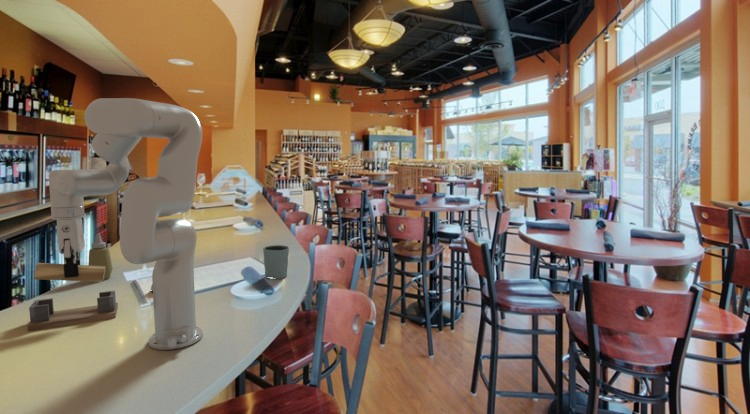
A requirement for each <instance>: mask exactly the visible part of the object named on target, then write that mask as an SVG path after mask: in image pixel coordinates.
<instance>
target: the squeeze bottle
mask: <svg viewBox="0 0 750 414" xmlns="http://www.w3.org/2000/svg"><path fill="white" fill-rule="evenodd" d="M106 245H107V242H106V241H105V242H104V241H103V239H102V237H101V233H96V234H95V239H94V242H93V243H91V249H90V248H89V250H88V264H87V265H90V266H106V267H105V274H104V280H103V281H105V280H108V279H110V278H111V276H112V275H111V274H112V272H113V269H114V268H113V264H112V260H111V252H110V248H108V247H107V246H106Z"/></svg>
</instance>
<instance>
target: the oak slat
mask: <svg viewBox="0 0 750 414" xmlns="http://www.w3.org/2000/svg"><path fill="white" fill-rule="evenodd" d="M105 267H106V266H90V265H88V264H87V265H86V264H85V265H84V264H80V265H78V273H79V275H78V277H70V278H65V277H64V263H50V262H49V263H47V262H38V263H36V264H35V269H34V275H33V280H39V281H40V280H41V281H42V280H45V281H68V282H69V281H71V282H72V281H74V282H94V283H95V282H96V283H97V282H99V283H102V282H103V281H105V280H104V274H105Z"/></svg>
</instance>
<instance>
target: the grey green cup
mask: <svg viewBox="0 0 750 414" xmlns="http://www.w3.org/2000/svg"><path fill="white" fill-rule="evenodd" d="M262 250H263V251H262V252H263V264H264V277H265V276H266V277H273V278H277V279H276V280H282V279H286V278H287V277H288V267H289V266H288V265H289V252H290V251H289V250H290V247H289V246H286V245H283V244H281V245H280V244H275V245H267V246H264V247H263V249H262ZM266 277H265V278H266Z"/></svg>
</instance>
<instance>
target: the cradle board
mask: <svg viewBox="0 0 750 414" xmlns="http://www.w3.org/2000/svg"><path fill="white" fill-rule="evenodd" d="M98 294H99V296H98V297H97V299H96V302H97V304H96V305H92V306H84V307H76V308H70V309H61V310H56V311H55V310H54V300H53V299H54V298H53V297H52V298H45V299H44V298H43V299H36V300H34V301H33V302H32V303H31V304H30V306H29V307H28V309H29V320H30V322H29V323H28V324H27V331H28V332H32V331H38V330H44V329H45V330H46V329H49V328H50V329H51V328H57V327H63V326H64V327H65V326H69V325H70V326H71V325H78V324H83V323H90V322H96V321H97V322H98V321H103V320H109V319H115V318H116V316H117V312H118V309H119V307H118V304H119V303H118V302H117V300H116V299H117V298H116V297H117V296H116V290H109V291H100V292H99V293H98Z"/></svg>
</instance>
